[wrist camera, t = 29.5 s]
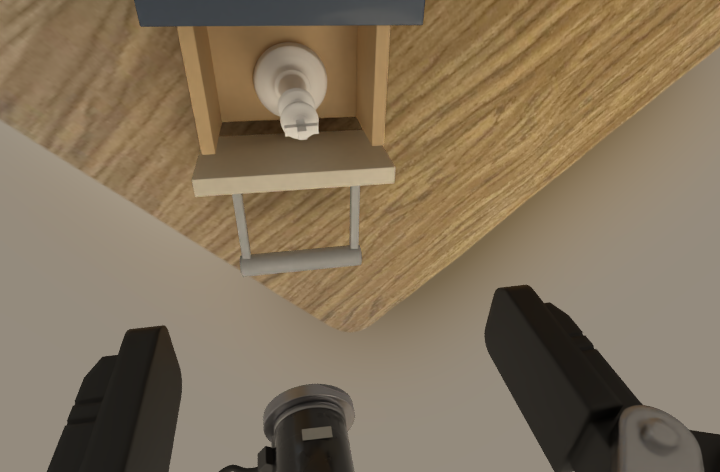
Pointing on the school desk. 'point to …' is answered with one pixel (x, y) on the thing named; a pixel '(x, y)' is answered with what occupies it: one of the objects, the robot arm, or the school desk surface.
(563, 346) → the robot arm
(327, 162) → the drawer
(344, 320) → the school desk surface
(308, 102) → the chess piece
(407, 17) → the cabinet
